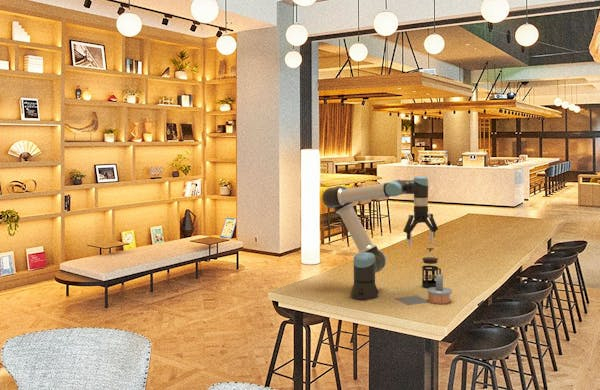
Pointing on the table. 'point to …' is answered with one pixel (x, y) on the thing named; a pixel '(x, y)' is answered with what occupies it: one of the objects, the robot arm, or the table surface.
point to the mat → (412, 300)
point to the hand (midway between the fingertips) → (420, 244)
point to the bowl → (439, 298)
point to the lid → (439, 287)
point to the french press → (429, 260)
